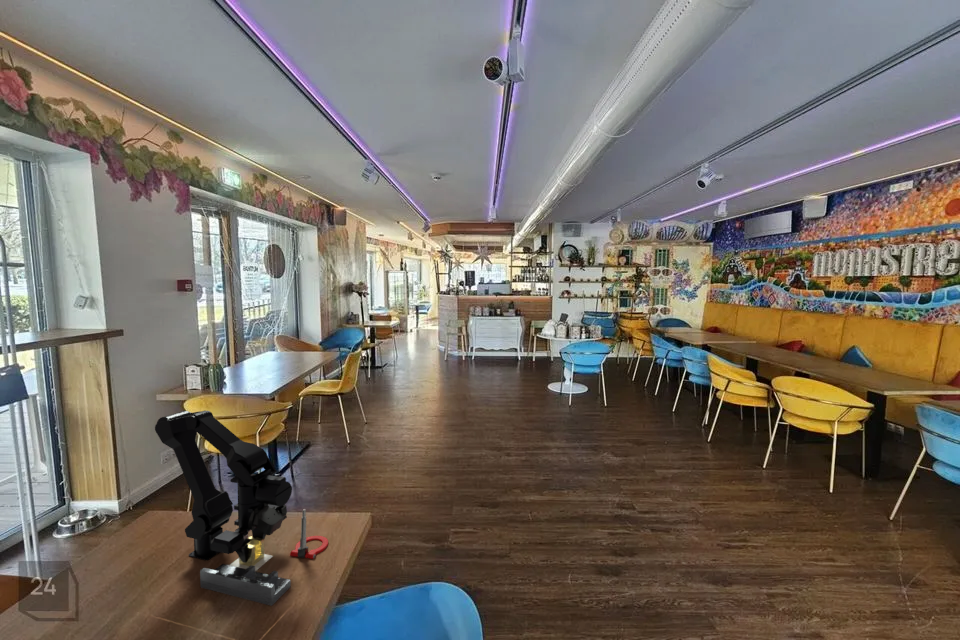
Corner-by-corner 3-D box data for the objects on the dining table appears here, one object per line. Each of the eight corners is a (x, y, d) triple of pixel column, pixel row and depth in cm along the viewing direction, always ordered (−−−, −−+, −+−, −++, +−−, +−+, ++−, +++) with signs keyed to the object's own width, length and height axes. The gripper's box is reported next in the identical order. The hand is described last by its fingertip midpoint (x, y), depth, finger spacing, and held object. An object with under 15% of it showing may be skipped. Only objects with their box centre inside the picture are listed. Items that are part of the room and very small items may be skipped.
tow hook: (306, 537, 115) (286, 557, 106) (307, 493, 115) (287, 509, 106) (333, 541, 114) (315, 561, 105) (335, 496, 114) (317, 512, 104)
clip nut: (239, 563, 102) (238, 545, 102) (251, 554, 106) (251, 536, 106) (252, 566, 101) (251, 548, 101) (264, 556, 105) (263, 538, 105)
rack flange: (200, 588, 94) (200, 570, 94) (222, 571, 100) (222, 554, 100) (271, 606, 89) (271, 587, 89) (290, 587, 95) (290, 569, 95)
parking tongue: (229, 566, 102) (229, 564, 102) (248, 551, 108) (248, 550, 108) (255, 572, 100) (255, 571, 100) (273, 557, 106) (273, 555, 106)
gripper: (247, 524, 92) (248, 588, 93) (302, 486, 110) (302, 540, 111) (208, 516, 94) (209, 579, 96) (268, 480, 112) (269, 533, 114)
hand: (251, 556), depth 104 cm, fingers closed on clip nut, 4 cm apart
